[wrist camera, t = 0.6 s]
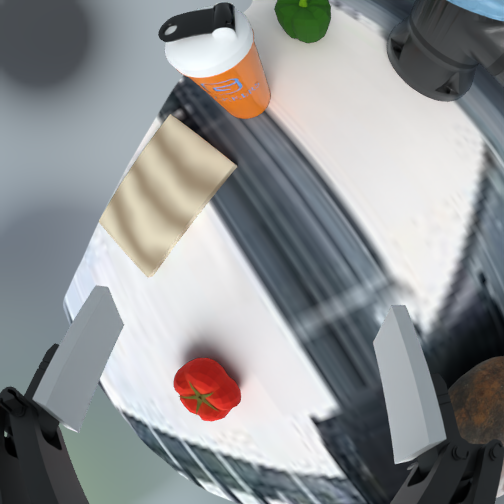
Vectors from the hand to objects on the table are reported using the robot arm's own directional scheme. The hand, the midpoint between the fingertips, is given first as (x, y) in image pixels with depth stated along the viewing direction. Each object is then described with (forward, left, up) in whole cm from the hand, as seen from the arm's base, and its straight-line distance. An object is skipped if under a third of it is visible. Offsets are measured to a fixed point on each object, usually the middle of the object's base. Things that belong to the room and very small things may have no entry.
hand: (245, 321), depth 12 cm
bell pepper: (-29, -21, -27) cm, 45 cm away
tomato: (+25, +5, -28) cm, 38 cm away
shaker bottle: (-13, -20, -27) cm, 36 cm away
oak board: (+7, -21, -27) cm, 35 cm away
